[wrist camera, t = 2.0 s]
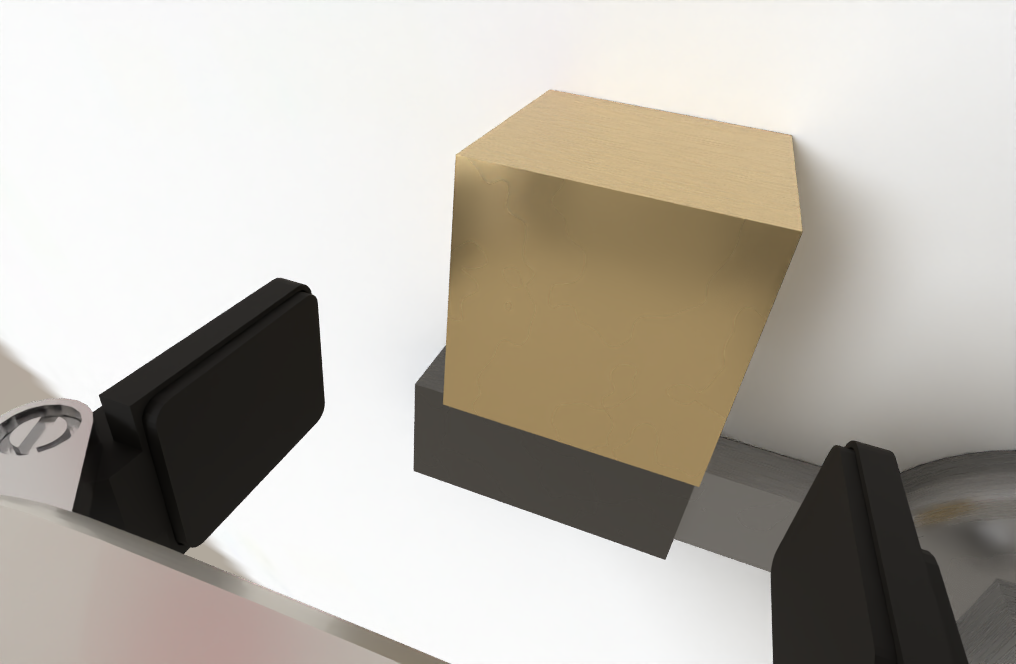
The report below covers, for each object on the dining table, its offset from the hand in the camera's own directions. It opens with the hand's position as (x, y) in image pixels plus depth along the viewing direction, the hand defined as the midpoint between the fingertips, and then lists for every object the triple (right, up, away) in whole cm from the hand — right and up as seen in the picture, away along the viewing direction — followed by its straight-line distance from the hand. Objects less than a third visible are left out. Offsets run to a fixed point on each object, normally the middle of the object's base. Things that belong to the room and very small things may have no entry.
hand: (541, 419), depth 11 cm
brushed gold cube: (+3, +5, +6) cm, 8 cm away
